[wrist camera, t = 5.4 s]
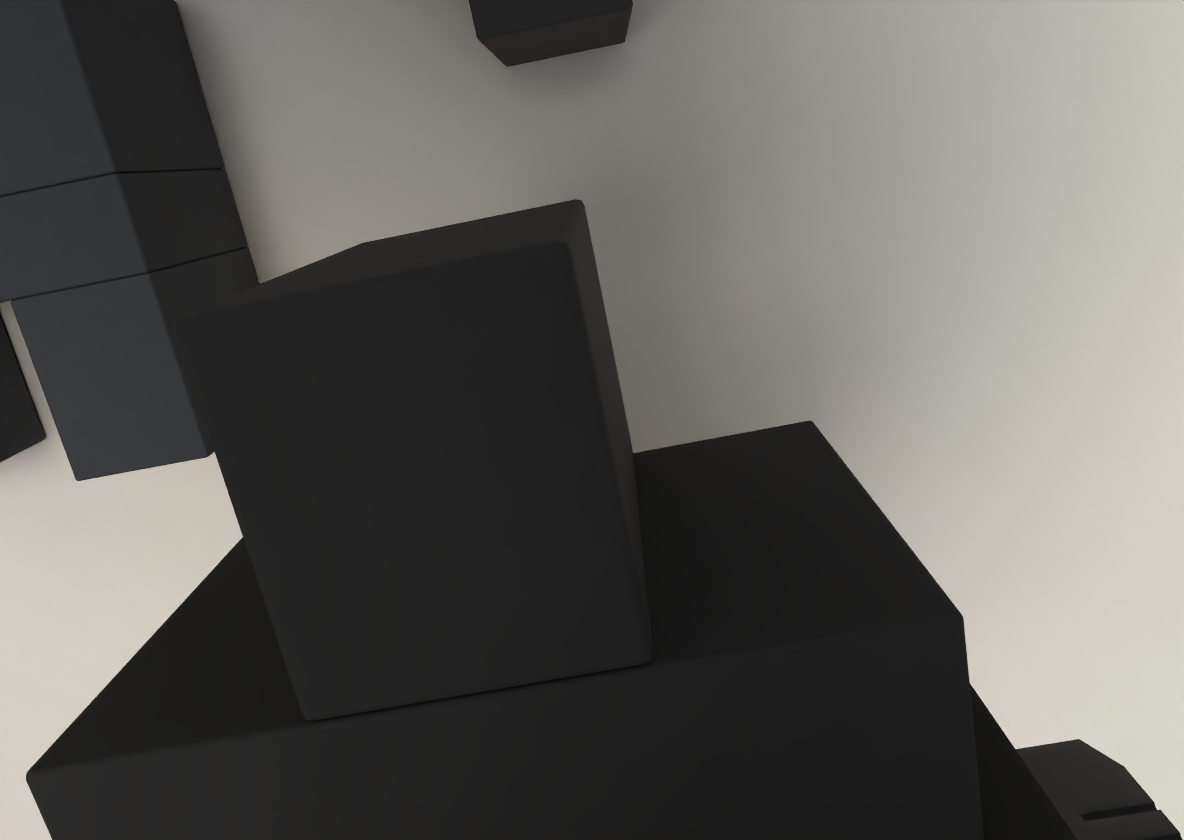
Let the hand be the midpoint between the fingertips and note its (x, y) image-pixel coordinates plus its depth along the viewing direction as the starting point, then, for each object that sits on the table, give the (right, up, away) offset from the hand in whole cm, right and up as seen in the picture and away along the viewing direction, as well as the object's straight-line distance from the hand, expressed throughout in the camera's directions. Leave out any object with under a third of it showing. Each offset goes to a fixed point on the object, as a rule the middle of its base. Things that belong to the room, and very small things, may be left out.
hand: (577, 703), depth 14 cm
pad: (0, +2, 0) cm, 2 cm away
